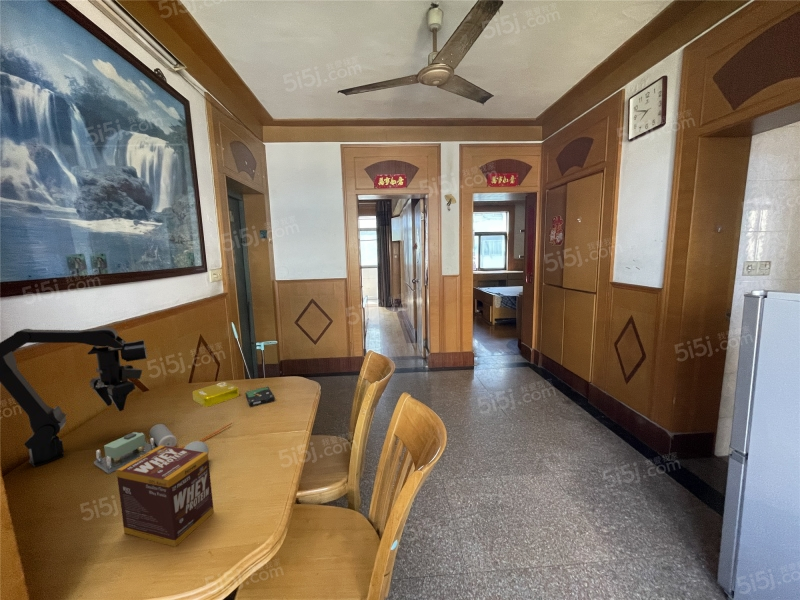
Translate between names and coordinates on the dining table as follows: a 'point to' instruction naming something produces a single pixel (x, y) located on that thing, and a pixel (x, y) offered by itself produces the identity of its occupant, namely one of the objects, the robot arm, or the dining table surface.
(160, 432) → the motor
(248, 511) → the dining table surface
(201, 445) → the ceramic mug
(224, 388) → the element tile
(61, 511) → the dining table surface
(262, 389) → the disk drive
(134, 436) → the green rectangular block
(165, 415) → the dining table surface
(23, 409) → the robot arm
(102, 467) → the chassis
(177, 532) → the supplement box
